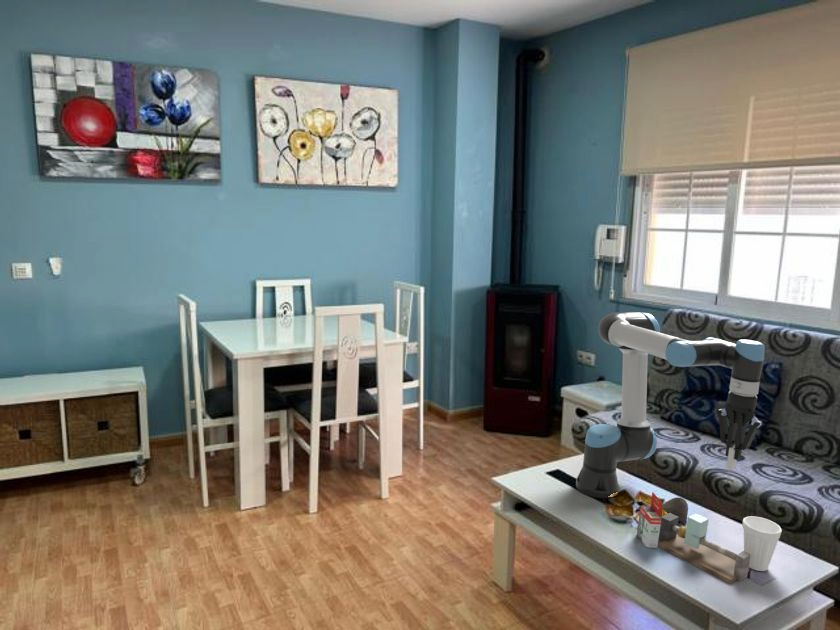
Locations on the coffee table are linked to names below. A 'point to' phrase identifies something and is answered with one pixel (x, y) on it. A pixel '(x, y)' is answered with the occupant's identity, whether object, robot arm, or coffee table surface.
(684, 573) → the coffee table surface
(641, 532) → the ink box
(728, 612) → the coffee table surface
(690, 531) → the sleeve
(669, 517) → the wooden slider rod stand
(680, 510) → the stone
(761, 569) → the cup
